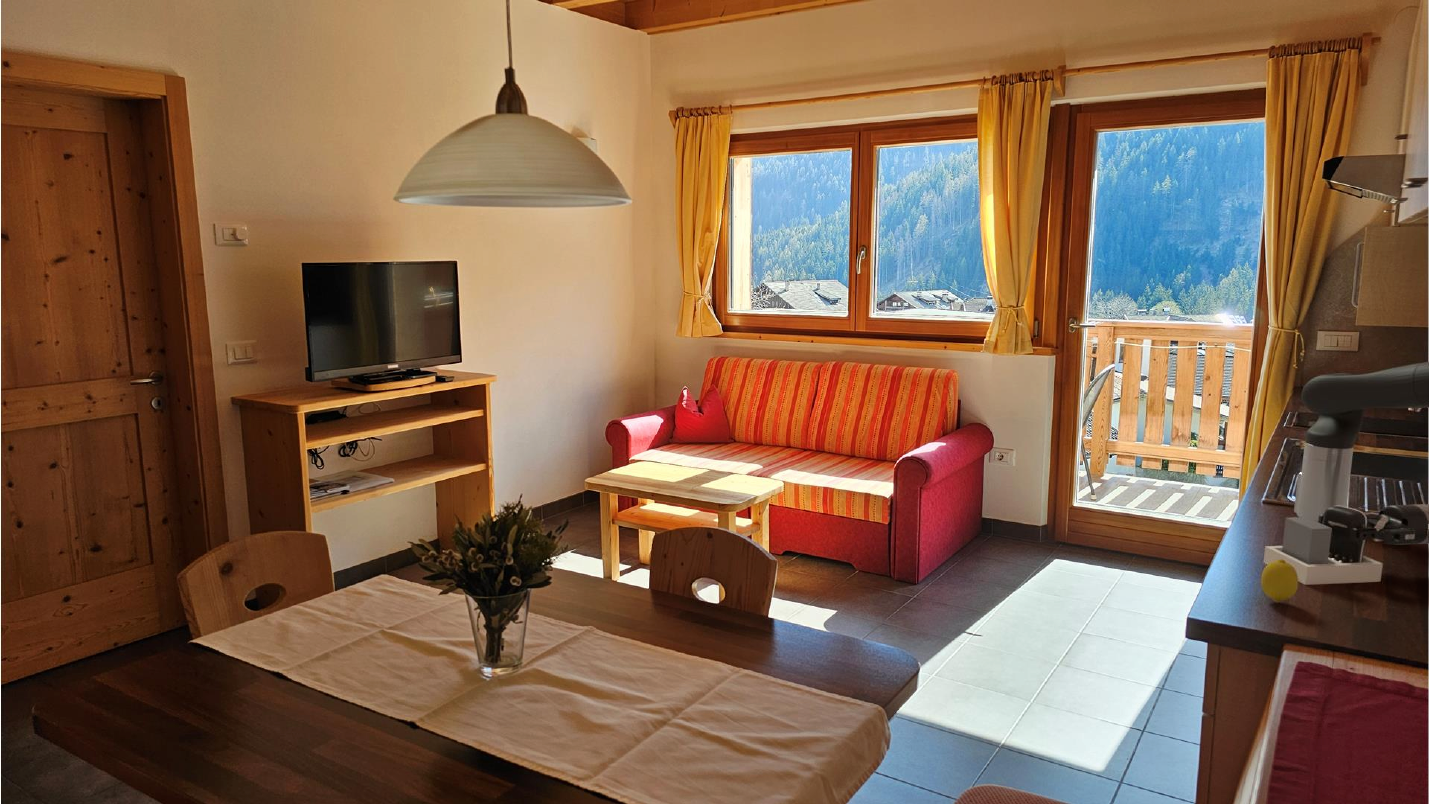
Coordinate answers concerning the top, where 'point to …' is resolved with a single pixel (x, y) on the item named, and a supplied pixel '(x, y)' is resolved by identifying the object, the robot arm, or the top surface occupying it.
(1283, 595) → the lemon
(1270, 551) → the dock
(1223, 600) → the top surface
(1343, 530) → the battery charger
